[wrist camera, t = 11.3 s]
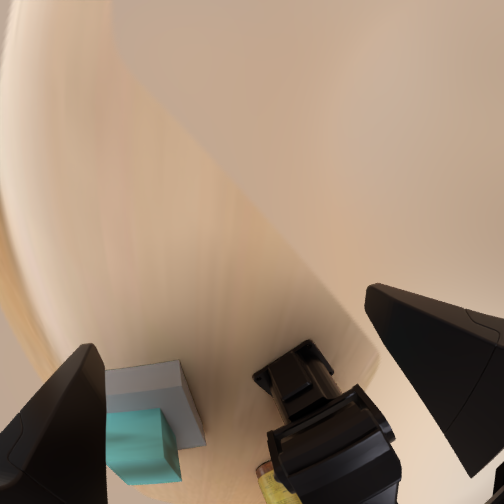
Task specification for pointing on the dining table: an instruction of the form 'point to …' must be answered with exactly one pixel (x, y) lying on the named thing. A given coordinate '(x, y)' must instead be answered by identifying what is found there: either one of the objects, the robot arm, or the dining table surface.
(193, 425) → the gray plinth
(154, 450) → the teal cube
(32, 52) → the dining table surface
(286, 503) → the sauce bottle
